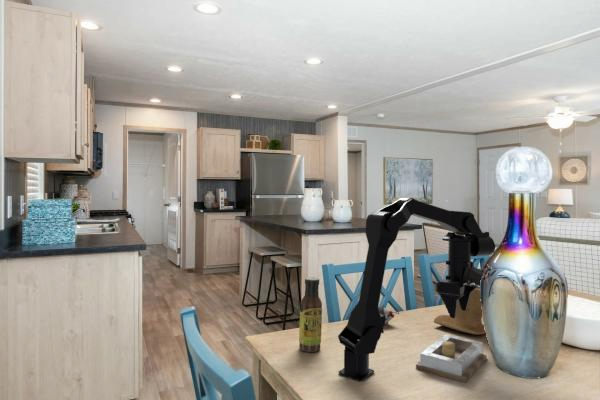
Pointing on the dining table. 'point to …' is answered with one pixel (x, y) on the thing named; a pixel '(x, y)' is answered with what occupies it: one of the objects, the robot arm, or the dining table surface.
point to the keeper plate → (465, 377)
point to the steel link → (449, 365)
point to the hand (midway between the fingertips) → (458, 314)
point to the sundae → (386, 314)
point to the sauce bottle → (310, 317)
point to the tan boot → (465, 316)
